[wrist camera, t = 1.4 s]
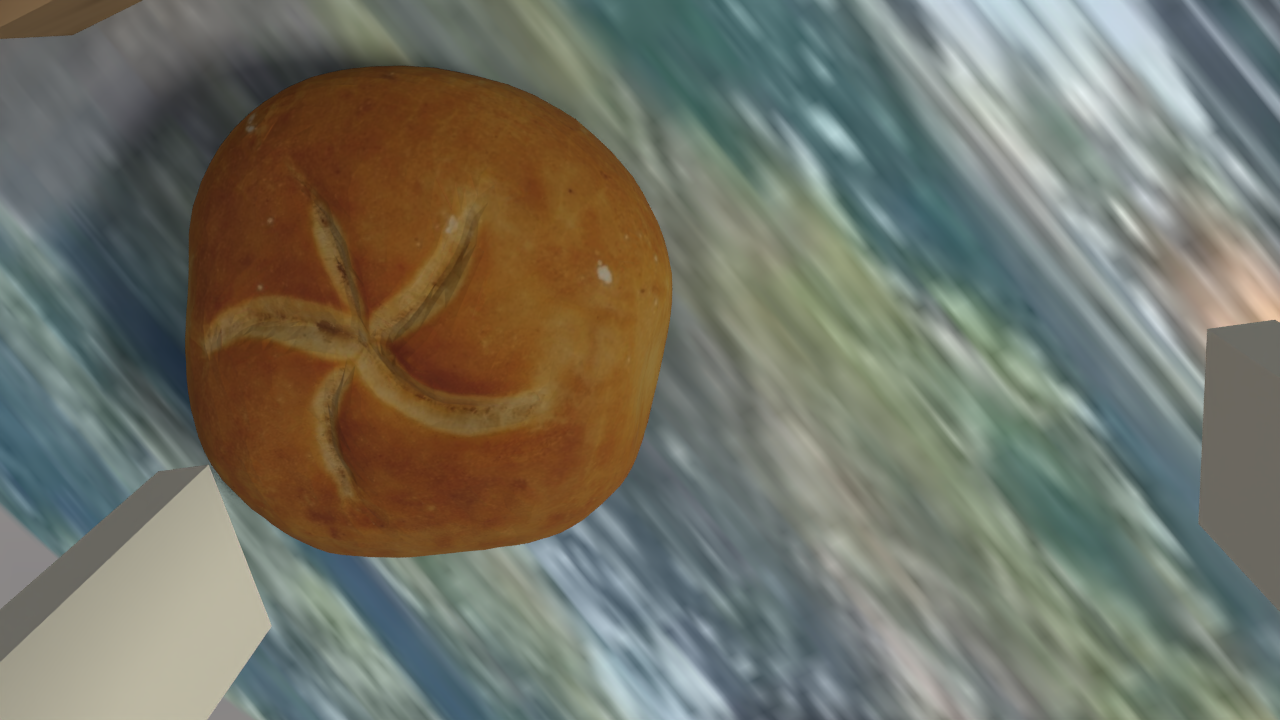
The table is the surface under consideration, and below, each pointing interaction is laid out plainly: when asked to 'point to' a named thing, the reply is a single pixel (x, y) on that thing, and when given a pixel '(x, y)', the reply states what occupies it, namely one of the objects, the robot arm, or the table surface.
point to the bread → (421, 314)
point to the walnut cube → (54, 16)
